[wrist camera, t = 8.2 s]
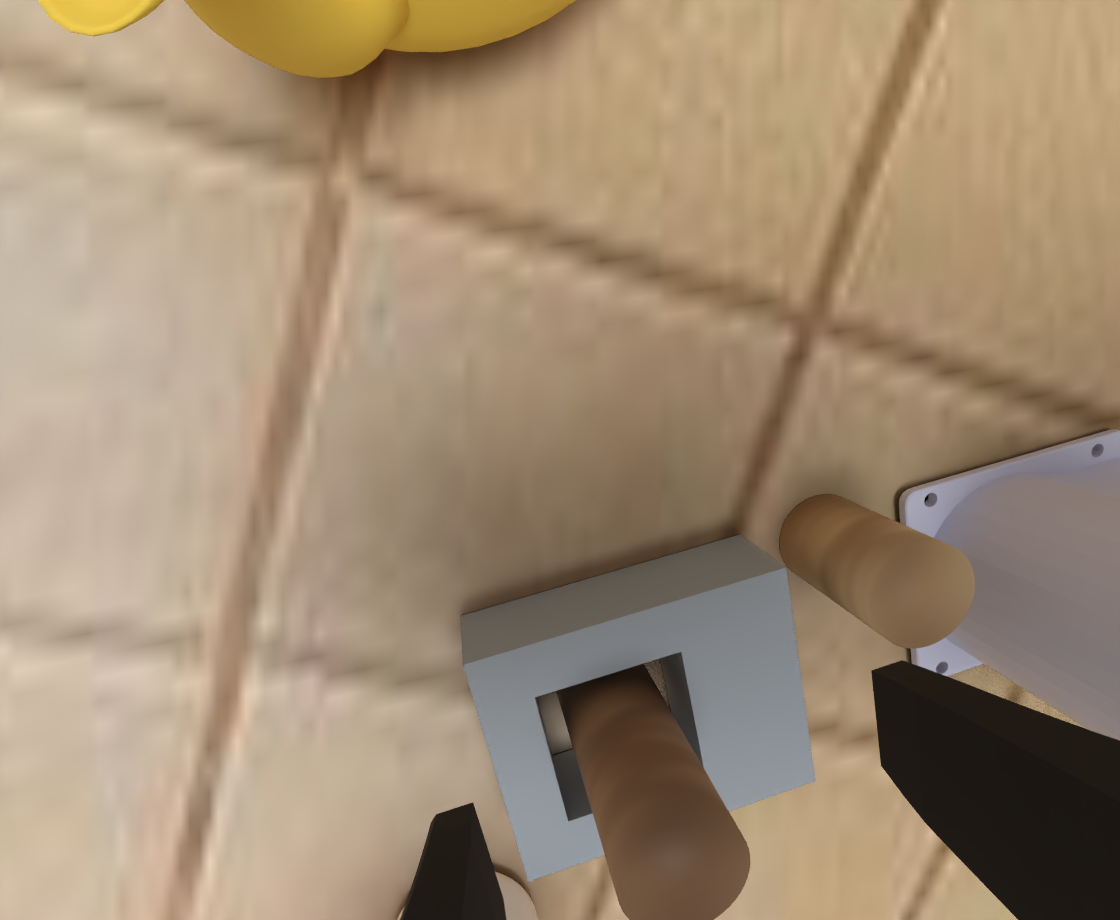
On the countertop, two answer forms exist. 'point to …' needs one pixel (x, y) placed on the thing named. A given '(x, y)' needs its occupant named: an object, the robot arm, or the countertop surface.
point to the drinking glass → (513, 900)
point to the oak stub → (879, 569)
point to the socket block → (629, 640)
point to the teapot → (326, 26)
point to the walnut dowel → (652, 802)
